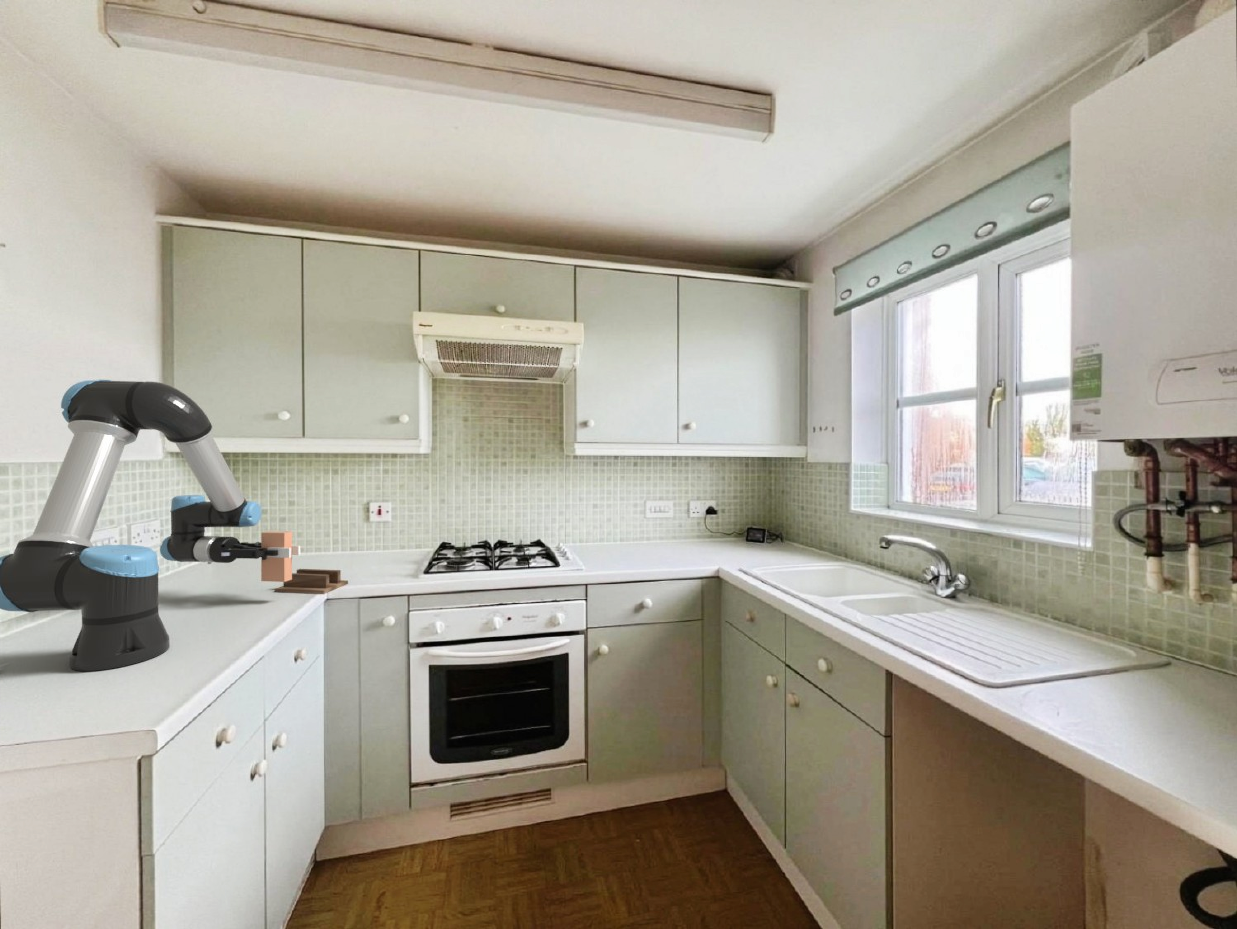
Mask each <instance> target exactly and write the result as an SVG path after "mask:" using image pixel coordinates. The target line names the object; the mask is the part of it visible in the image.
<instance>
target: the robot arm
mask: <svg viewBox="0 0 1237 929" xmlns="http://www.w3.org/2000/svg"><path fill="white" fill-rule="evenodd" d="M61 399H62V400H61V403H60V408H61V409H63V411H62V412H61V414H62V416H63V418H64V420H65V421H66V422H67V423H68V424H67V428H68V429H69V430H70V432H72V434H73V437H72V440H71V441H70V444H69V446H68V449H67V452H66V454H65V455H64V458H63V460H62V462H61V463H62V464H61V466H60V468H59V470H58V472H57V476H56V477H55V480H54V483H53V484H52V488H51V490H50V492H49V495H48V498H47V499H46V502H45V504H44V506H43V509H42V512H41V514H40V517H39V519H38V521H37V523H36V525H35V528H34V531H33V532H32V533H33V534H31V535H30V536H28V537H25V538H23V539H20V540H19V541H18V542H17V544H16V546H15V549H14V551H13V553H9V554H7V555H6V554H5V555H3V556H1V557H0V610H3V611H8V612H25V613H36V612H45V611H46V612H47V611H48V612H49V611H76V610H78V611H79V610H81V628H80V631H79V633H78V636H77V638H76V640H75V642H74V645H73V648H72V651H71V652H70V653H69V654H70V655H69V667H70V669H71V670H74V671H85V672H91V671H101V670H102V671H103V670H104V671H105V670H110V669H117V668H122V667H126V666H130V665H134V664H137V663H141V662H144V661H148V660H150V659H153V658H155V657H158V656H159V655H161V654H164V653H165V652H167V651H168V650H169V649H170V635H169V634H168V632H167V629H166V627H165V625H164V623H163V621H162V619H161V616H160V615H159V614H160V613H159V571H160V567H159V561H158V555H157V553H156V552H155V551H154V549H152V548H150V547H148V546H142V545H136V544H135V545H134V544H104V545H94V544H93V543H92V542H91V538H92V536H93V533H94V531H95V528H96V525H97V523H98V520H99V517H100V514H101V511H102V509H103V506H104V503H105V501H106V498H107V495H108V493H109V489H110V487H111V484H112V481H113V479H114V476H115V473H116V470H117V468H118V465H119V462H120V459H121V457H122V454H123V452H124V448H125V447H126V445H127V446H128V445H129V444H132V443H135V442H136V441H137V438H138V436H139V432H140V431H141V430H154V431H158V432H161V433H162V434H163V435H164V436H165V438H166V440H167V441H168V442H171V443H173V444H175V445H176V447H177V449H178V450H179V452H180V453H181V455H182V457H183V459H184V460H185V462H186V463H187V465H188V466H189V468H190V470H191V472H192V473H193V476H194V477H195V478H196V480H197V482H198V483H199V485H200V487H201V489H202V490H203V492H204V493H205V495H206V497H207V499H208V500H209V501H206V499H205V496H204V495H203V494H200V495H199V494H186V495H185V494H183V495H182V494H181V495H176V496H173V498H172V499H171V508H170V522H171V523H170V527H171V530H170V531H171V533H170V536H167V537H165V538H164V539H163V541H162V542H161V544H160V546H159V553H160V555H161V556H162V558H163V559H165V560H167V561H171V562H173V561H174V562H179V563H183V562H185V563H187V562H188V563H189V562H190V563H207V565H212V563H216V564H217V563H218V564H221V563H223V564H228V563H229V564H230V563H233V562H234V561H235V560H236V559H255V560H256V559H260V558H261V557H262V560H266V556H268V557H278V558H290V557H291V548H276V547H269V548H268V550H266V548H261V541H257V542H248V541H247V542H246V541H245V542H240V540H239V539H238V538H237V537H234V536H218V535H216V536H215V535H205V533H206V532H205V531H206V529H205V528H248V527H249V528H250V527H255V526H256V525H258V523H259V522H260V521H261V518H262V512H263V511H262V507H261V505H260V504H259V502H257V501H251V500H249V501H247V500H246V498H245V496H244V494H243V493H242V490H241V488H240V486H239V485H238V483H237V481H236V479H235V477H234V475H233V473H232V471H231V469H230V467H229V466H228V464H227V462H226V460H225V458H224V456H223V454H222V452H221V450H220V448H219V446H218V444H217V442H216V441H215V438H214V436H213V435H212V433H211V432H212V431H213V425H212V423H211V421H210V419H209V418H208V416H207V414H206V413H205V411H204V410H203V409H202V408H201V407H200V406H199V405H198V404H197V402H196V401H194V400H193V399H192V398H191V397H190V396H188V395H187V394H186V393H184V392H183V391H180V390H179V389H177V388H175V387H174V386H172V385H169V384H167V383H163V382H157V381H130V380H129V381H126V380H110V379H96V380H94V379H92V380H91V379H90V380H83V381H79V382H76V383H75V384H73V385H72V386H70V387H69V388H68V389H66V392H64V394H63V396H62V398H61ZM292 556H301V545H294V544H292Z"/></svg>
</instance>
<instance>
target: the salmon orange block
mask: <svg viewBox="0 0 1237 929" xmlns="http://www.w3.org/2000/svg"><path fill="white" fill-rule="evenodd" d="M260 536H261V537H260V538H261V539H260V540H261V541H260V542H261V548H266V550H268V548H269V547H276V548H291V557H290V558H278V557H268V556H266V560H262V557H260V558H261V559H260V560H261V562H260V564H261V566H260V567H261V568H260V571H261V574H260V575H261V576H260V578H261V582H272V583H273V582H274V583H275V582H276V583H277V582H279V583H282V582H283V583H284V582H285V581H289V580H292V573H293V555H292V545H293V531H286V530H285V531H284V530H283V531H281V530H268V531H262V532H261V535H260Z"/></svg>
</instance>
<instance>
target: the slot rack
mask: <svg viewBox="0 0 1237 929" xmlns="http://www.w3.org/2000/svg"><path fill="white" fill-rule="evenodd" d="M341 573H342V570H340V569H316V568H315V569H313V568H312V569H311V568H299V569H298V568H297V569H296V573H295V572H294V573H293V572H292V580H289V581H285V582H283V585H282V586H279V587H276V588H274V593H286V594H287V593H289V594H290V593H291V594H292V593H293V594H313V595H315V594H316V595H318V594H319V595H325V594H327V593H330V592H332V591H335V590H336V589H339V588H341V587H343V586H346V585H348V584H349V580H341V578H342V576H341V575H342V574H341Z"/></svg>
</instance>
